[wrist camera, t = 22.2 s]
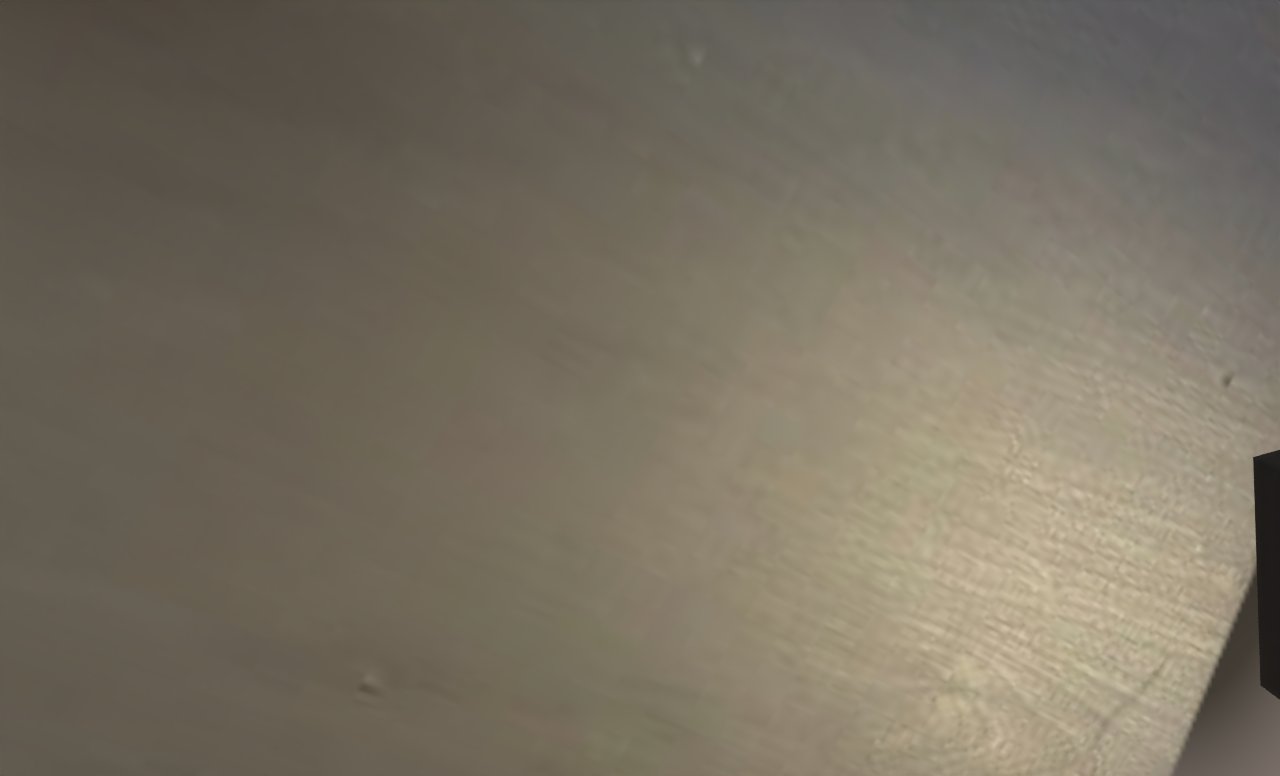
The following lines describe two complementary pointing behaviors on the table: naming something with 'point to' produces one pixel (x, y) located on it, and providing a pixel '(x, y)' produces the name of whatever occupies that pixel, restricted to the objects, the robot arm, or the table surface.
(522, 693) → the table surface
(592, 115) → the table surface
